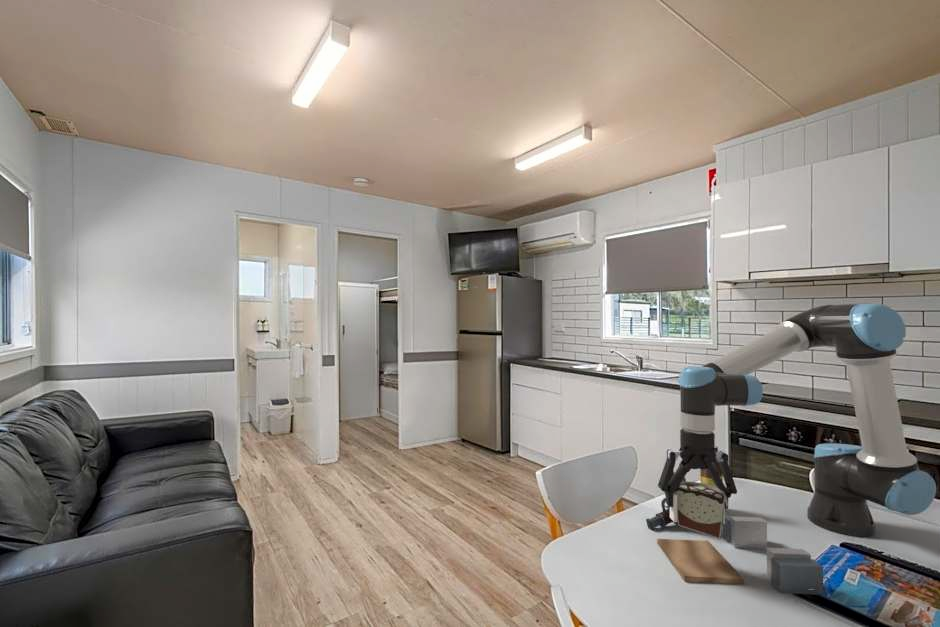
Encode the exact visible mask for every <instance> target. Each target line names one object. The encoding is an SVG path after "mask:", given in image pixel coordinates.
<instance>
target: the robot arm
mask: <svg viewBox="0 0 940 627" xmlns="http://www.w3.org/2000/svg"><path fill="white" fill-rule="evenodd" d="M906 336H907V329H906V325H905V321H904V319H903V317H902V316H901V314H899V312H897V311H896V310H895V309H893V308H892V307H890V306H888V305H886V304H881V303H867V302H865V303H863V302H862V303H847V304H846V303H843V304H825V305H819V306H816V307H813V308H809V309H808V310H805V311H803V312H800V313H797V314H796V315H793V316H792V317H789V318H788V319H786V320H784V321H781V322H779V323H778V325H777V326H776V329H773V330H772V331H770V332H768V333H766V334H764V335H762V336H760V337H758V338H756V339H754V340H752V341H750V342H748V343H746V344H743V345H742V346H740V347H738V348H736V349H734V350H731V351H730V352H728V353H726V354H723V355H722V356H721V357H718V358H716V359H714V360H712V361H710V362H709V363H706V364H703V365H702V366H696V365H695V366H694V365H693V366H689V365H688V366H684V367H682V369H681V371H680V374H679V375H678V384H679V388H680V389H679V390H680V393H679V394H680V397H679V398H680V411H679V412H680V420H679V422H680V426H679V427H680V428H681V429H680V430H679V435H680V436H679V441H680V443H679V444H680V447H679V449H678V450H671V449H667V450H666V459H665V464H664V465H663V469H662V472H661V475H660V478H659V480H658V483H657V487H658V488H659V489H660V491H662V492H664V491H665V492H666V497H665V498H666V502H665V504H666V506H669V507H670V518H671V519H672V520H673V522H672V523H674V522H677V495H676V494H675V493H674V492H675V491H676V489H677V488H678V486H679V485H680V483H681V481H682V480H683V478H684V477H685V478H686V475H687V473H690V471H691V470H698V469H699V470H700V469H704V470H705V469H706V470H707V471H708V473H709V475H710V476H711V478H712V480H713V481H714V483H715V484H716V486H717V488H718V489H720V490H722V491H723V492H724V493H725V495H726V497H727V501H728V502H729V499H730V498H731V497H732V495H736V494H737V493H738V490H737V486H736V483H735V480H734V477H733V474H732V471H731V468H730V466H729V455H728V453H726V452H724V451H722V450H718V452H715V451H714V447H715V446H716V444H715V442H716V441H715V436H716V435H715V433H714V431H715V430H716V427H715V425H716V424H715V423H716V422H715V418H716V417H715V416H716V415H715V414H716V413H715V411H716V406H717V407H718V406H719V407H721V406H742V407H747V406H753V405H757V404H758V403H759V402H761V400H762V398H763V397H764V396H763V395H764V393H763V390H764V388H763V384H762V382H761V381H760V380H759V379H758V378H757V377H756V376H755V375H751V374H752V373H755V372H756V371H758V370H760V369H762V368H765V367H766V366H769V365H770V364H772V363H774V362H776V361H778V360H780V359H782V358H784V357H786V356H788V355H790V354H792V353H793V352H797V353H801V352H805V351H807V350H809V349H811V348H818V347H829V348H830V347H831V348H835V354H836V356H837V359H839V360H841V361H842V362H844V363H845V366H846V371H847V376H848V381H849V385H850V386H849V388H850V392H851V396H852V404H853V407H854V411H855V412H854V413H855V417H856V418H855V419H856V423H857V428H858V433H859V438H860V443H861V445H855V444H846V443H834V442H833V443H819V444H817V445H816V446H815V448H814V456H813V474H814V492H813V496H812V497H811V500H810V503H809V506H808V507H807V509H806V510H807V513H806V514H807V519H808V521H810V522H811V523H813V524H814V525H816V526H817V527H821V528H823V529H825V530H827V531H831V532H834V533H837V534H838V533H839V534H841V535H848V536H853V537H871V536H873V535H875V534H876V524H875V521H874V518H873V516H872V513H871V511H870V508H869V506H868V503H867V502H868V501H869V502H872V503H873V504H876V505H880V506H881V507H884V508H887V510H889V511H893V512H897V513H900V514H902V515H908V516H913V515H914V516H916V515H919V514H922V513H923V512H924V511H926V510H927V509H928V508H929V507H930V506H931V504H932V503H933V501H934V499H935V497H936V494H937V493H936V492H937V485H936V481H935V480H934V478H933V477H932V476H931V475H930V474H929V473H928V472H926V471H923V470H920V468H919V463H918V459H917V457H916V456H915V455H914V454H912V453H910V452H909V451H908V448H907V444H906V439H905V435H904V434H905V433H904V428H903V422H902V417H901V414H900V413H901V412H900V407H899V402H898V398H897V391H896V387H895V381H894V377H893V370H892V367H891V366H892V365H891V362H890V361H891V360H892V359H893V358H894V357H895V356H896V355H897V349H898V348H900V347H901V346H902V345H903V343H904V342H905V340H904V338H906ZM679 457H680V459H681V461H680V462H679V463H678V468H677V469H676V470H675V471H674V475H673V476H672V478H671V475H672V472H673V470H674V469H675V466H676V461H678V459H679ZM715 458H716V459H717V460H718V462H719V465H720V468H721V472H722V475H723V480H724V481H723V482H722V480H721V479H720V477H719V476H718V474H717V472H716V470H715V468H714V466H713V465H712V461H713V460H714V459H715ZM670 478H671V479H670ZM724 483H725V484H724ZM665 492H664V493H665ZM728 509H729V505H728V506H726V502H725V507H724V516H723V524H725V515H726V511H725V510H728Z"/></svg>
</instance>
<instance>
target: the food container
mask: <svg viewBox="0 0 940 627" xmlns="http://www.w3.org/2000/svg"><path fill="white" fill-rule="evenodd" d="M675 494H676V495H677V521H678V525H677V526H678V527H680V526H681V527H680V528H683V529H684V528H685V529H688V530H691V531H694V532H697V533H699V534H703V535H705V536H709V537H712V538H715V539H719V540H721V539H722V525H723V516H724V507H725V502H726V506H728V507H729V500H728V501H727V497H726V495H725V493H724V492H723V491H722V490H720V489H718V488H716V487H714V486H711V485H707V484H703V483H700V482H696V481H686V482H681V483H680V485H679V486H678V488H677V489H676V491H675Z"/></svg>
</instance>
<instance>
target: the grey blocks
mask: <svg viewBox="0 0 940 627" xmlns="http://www.w3.org/2000/svg"><path fill="white" fill-rule="evenodd" d="M721 538H723V540H725V542H727V543H728V544H731V545H732V546H733V548H734V549H735V548H736V549H758V550H759V549H760V550H766V579H767V580H768V581H769V583H770V585H771V586H772V587H773V588H774V589H775V590H776V591H778V592H777V593H779V594H794V595H795V594H796V595H797V594H798V595H799V594H800V595H814V596H815V595H818V596H823V595H824V566H822V564H820V563H818V561H817V560H815V559H813V558H812V555H811V553H809V552H808V551H807V550H805V549H804V548H787V547H786V548H785V547H784V548H783V547H779V548H778V547H768V521H767V520H765V519H764V518H762V517H758V516H752V515H749V516H748V515H746V516H745V515H726V514H725V524H723V525H722V533H721ZM808 589H814V590H808Z"/></svg>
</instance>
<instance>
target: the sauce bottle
mask: <svg viewBox="0 0 940 627" xmlns="http://www.w3.org/2000/svg"><path fill="white" fill-rule="evenodd" d="M718 448H719V447H718V446H717V445H715V447H714V451H715V452H719V449H718ZM712 465H713V466H714V468H715V470H716V472H717V474H718V476H719V477H720V479H721V480H722V482H723V483H724V481H723V480H724V478H723V475H722V472H721V468H720V465H719V462H718V460H717V459H716V458H715V459H714V460H713V461H712ZM699 470H700V471H699V472H700V473H699V474H700V475H699V480H700V481H699V483H703V484H707V485H711V486H714V487H716V488H717V486H716V484H715V483H714V481H713V480H712V478H711V476H710V475H709V473H708V471H707V470H706V469H705V470H704V469H699Z"/></svg>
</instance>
